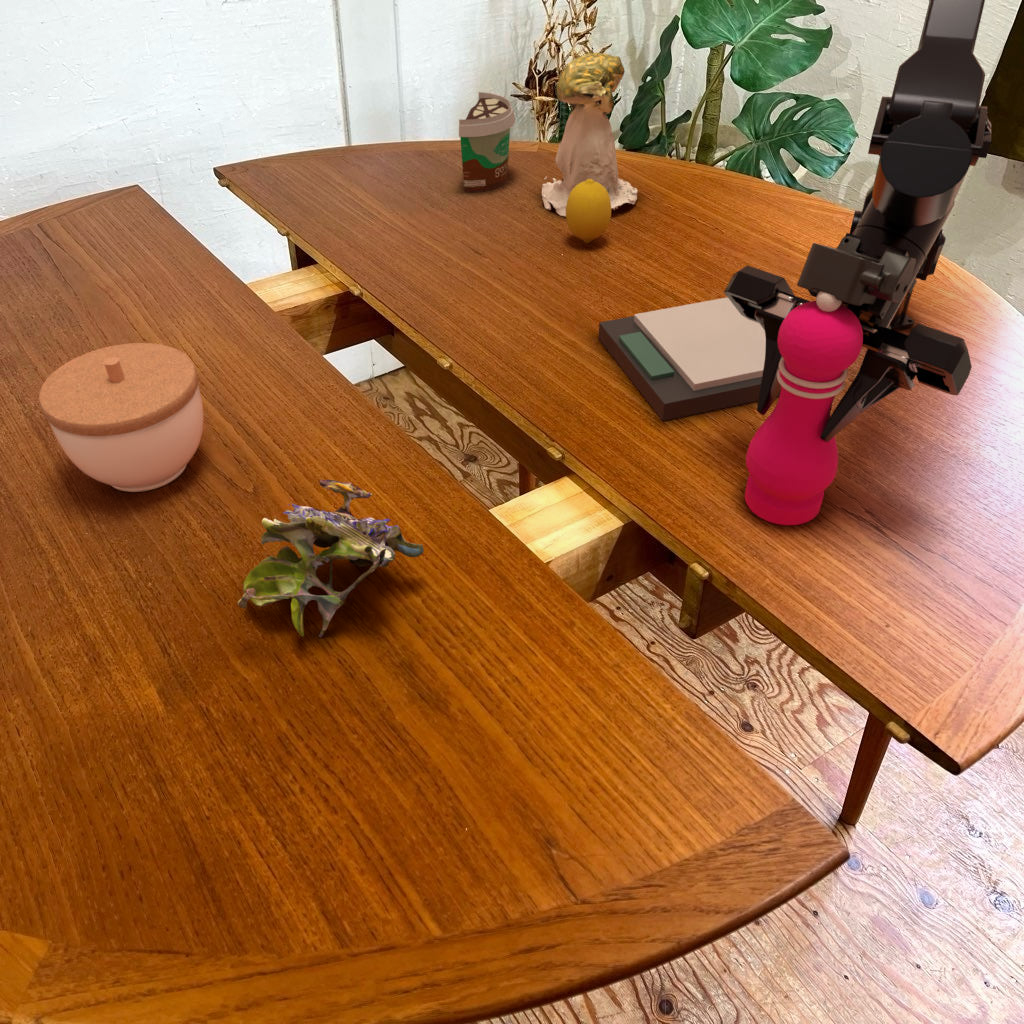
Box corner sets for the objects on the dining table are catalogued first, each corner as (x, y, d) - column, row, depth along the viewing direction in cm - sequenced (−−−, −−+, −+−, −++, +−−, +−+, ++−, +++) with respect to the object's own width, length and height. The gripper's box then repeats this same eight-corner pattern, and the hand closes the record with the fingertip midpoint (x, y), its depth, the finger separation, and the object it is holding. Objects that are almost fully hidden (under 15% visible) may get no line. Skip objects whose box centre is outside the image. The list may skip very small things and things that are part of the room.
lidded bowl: (67, 445, 89) (26, 341, 81) (205, 413, 92) (177, 310, 85) (78, 528, 80) (33, 419, 73) (230, 489, 83) (201, 381, 76)
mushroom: (652, 211, 126) (665, 63, 114) (560, 225, 123) (564, 74, 111) (617, 178, 134) (626, 37, 123) (530, 190, 132) (531, 46, 120)
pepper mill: (738, 525, 79) (781, 309, 66) (738, 470, 84) (777, 261, 71) (829, 534, 78) (891, 317, 65) (822, 478, 83) (878, 267, 70)
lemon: (617, 238, 120) (621, 175, 115) (596, 256, 116) (599, 191, 111) (578, 229, 122) (580, 167, 117) (556, 245, 119) (557, 182, 114)
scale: (757, 308, 106) (761, 285, 104) (838, 384, 95) (844, 359, 93) (598, 338, 102) (599, 315, 100) (662, 421, 90) (665, 396, 88)
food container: (505, 199, 130) (504, 123, 123) (461, 196, 131) (458, 120, 124) (523, 165, 139) (523, 93, 132) (481, 162, 140) (479, 90, 133)
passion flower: (365, 613, 79) (444, 514, 74) (331, 701, 70) (418, 595, 65) (246, 541, 77) (318, 433, 71) (194, 622, 68) (272, 505, 62)
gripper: (754, 164, 72) (656, 351, 73) (1007, 234, 62) (889, 448, 63) (789, 229, 81) (702, 394, 82) (1012, 298, 72) (910, 484, 73)
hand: (791, 426), depth 75 cm, fingers open, 5 cm apart
